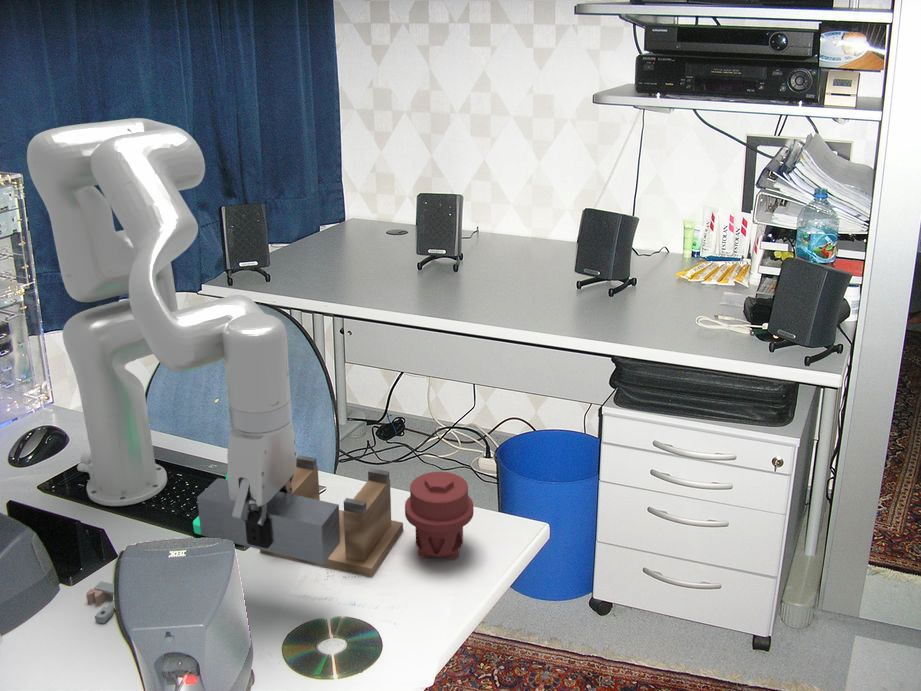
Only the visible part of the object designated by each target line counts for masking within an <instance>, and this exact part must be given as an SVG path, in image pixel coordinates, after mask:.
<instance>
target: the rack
mask: <svg viewBox="0 0 921 691" xmlns="http://www.w3.org/2000/svg"><path fill="white" fill-rule="evenodd" d="M296 457H297V462H296V470H295V472H294V475H293V478H292V481H291V486H292V493H291V494H293V495H298V496H302V497H307V498H311V499H316V500H320V501H321V498H320V497H321V496H320V482H319V467H318V464H317V457H311V456H306V455H301V454H297V455H296ZM391 494H392V493H391V479H390V471H388V470H382V469H376V468H369V469H368V471H367V481H366V482H365V484H364V485H363V486H362V487H361V489H360V490H359V491H358V492H357V493H356V495H355V496H354V497H353V498H349V497H346V498H345V499H344V500H343V510H341V509H339V523H340V543H339V545H338V546H337V547H336V549H335V550H334V551H333V553H332V554H331V555H330V557H329V558H328V559H327V561H326V562H325V563H324V565H322V564H318V563H314V562H310V561H306V560H301V559H297V558H293V557H289V556H285V555H281V554H277V553H273V552H268V551H264V550H260V549H259V553H260V554H264V555H270V556H275V557H278V558H283V559H288V560H291V561H295V562H296V561H297V562H301V563H305V564H310V565H314V566H319V567H324V568H329V569H333V570H338V571H342V572H347V573H350V574H355V575H361V576H363V577H364V576H365V577H369V578H373V576H374V575H375V574H376V573H377V571H378V569H379V567H380V566H381V564H382V563H383V562H384V560H385V559H386V557H387V556H388V554H389V553H390V551H391V550H392V548H393V547H394V545H395V543H396V542H397V541H398V539H399V538H400V536H401V535H402V533H403V532H404V522H402V521H398V520H397V521H396V520H392V500H391V499H392V498H391Z"/></svg>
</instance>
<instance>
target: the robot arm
mask: <svg viewBox="0 0 921 691" xmlns="http://www.w3.org/2000/svg"><path fill="white" fill-rule="evenodd" d="M26 162H27V167H28V172H29V175H30V178H31V181H32V183H33V185H34V187H35V189H36V191H37V192H38V194H39V196H40V198H41V200H42V201H43V203H44V206H45V209H46V210H47V213H48V215H49V220H50V223H51V229H52V234H53V235H52V236H53V240H54V246H55V250H56V255H57V259H58V265H59V266H58V267H59V270H60V274H61V278H62V282H63V285H64V288H65V290H66V292H67V294H68V295H69V297H70V298H72V299H73V300H76V302H80V303H81V302H82V303H91V302H97V301H101V300H106V299H109V298H115V297H118V296H121V295H125V294H126V295H127V294H128V298H126V299H123V300H118V301H113V302H110V303H106V304H102V305H98V306H95V307H92V308H88V309H86V310H83V311H80V312H78V313H76V314H75V315H74V314H73V315H72V317H70V318H69V319H68V320H67V321H66V323H65V324H64V326H63V329H62V339H63V340H62V341H63V346H64V347H65V350H66V354H67V356H68V359H69V361H70V363H71V366H72V369H73V372H74V375H75V379H76V383H77V386H78V392H79V398H80V402H81V406H82V407H81V408H82V412H83V417H84V424H85V428H86V434H87V435H86V436H87V439H88V440H87V441H88V445H89V451H90V453H88V452H83V453H82V454H81V456H80V458H79V459H80V460H79V461H80V462H79V463H78V465H77V466H76V467H77V468H76V469H77V471H79V472H82V473H83V472H84V473H88V474H89V478H90V479H89V480H88V481H87V484H86V492H87V493H86V494H87V497H89V499H90V500H91V501H92V502H94V503H97V504H99V505H101V506H106V507H107V506H109V507H124V506H130V505H131V506H132V505H135V504H138V503H142V502H144V501H146V500H149V499H151V498H153V497H155V496H157V495H158V494H159V493H160V492H161V491H162V490H163V489H164V488H165V487H166V485H167V482H168V476H167V475H168V474H167V471H166V470H165V468H164V467H163V466H161V464H157V463H156V460H155V452H154V445H153V439H152V431H151V425H150V419H149V413H148V412H149V411H148V406H147V398H146V393H145V388H144V385H143V383H142V382H141V380H140V379H139V377H138V376H136V375H135V374H134V373H133V372H131V371H129V370H128V369H126V365H127V364H129V363H131V362H132V363H133V362H134V361H136V360H140V359H142V358H146V357H148V356H152V355H153V356H154V357H155V358H156V360H157V361H158V362H159V363H160V364H161V365H162V366H163V367H164V368H166V369H167V370H169V371H170V372H173V373H178V374H179V373H181V374H182V373H188V372H191V371H194V370H198V369H201V368H203V367H207V366H209V365H212V364H215V363H218V362H221V361H224V366H225V367H224V368H225V377H226V378H225V379H226V388H227V390H226V391H227V399H228V400H227V401H228V410H229V419H230V428H231V430H230V432H229V436H228V442H227V444H228V445H227V472H228V490H229V497H230V500H231V501H236V502H235V506H234V510H233V514H232V516H233V518H238V519H242V520H243V521H245V525H246V536H247V543H248V544H250V545H254V546H258V547H262V548H266V549H267V548H269V547H270V546H271V540H270V527H269V521H266V511H267V502H269V501H270V500H271V499H272V498H273V497H274V495H275V494H276V493H277V492H278V491H279V492H284V493H288V494H291V493H292V486H291V481H292V478H293V475H294V472H295V470H296V462H297V449H296V448H297V445H296V439H295V438H296V436H295V430H294V425H293V417H292V416H293V414H292V401H291V399H292V398H291V387H290V384H291V383H290V382H291V381H290V369H289V352H288V351H289V349H288V335H287V328H286V326H285V324H284V322H283V321H282V320H281V319H279V318H278V317H277V316H274V315H271V314H267V313H265V312H264V311H263V309H262V308H260V307H259V305H258V303H256V302H255V301H254V300H253V299H252V298H250V297H248V296H247V295H243V294H232V295H228V296H225V297H221V298H218V299H214V300H211V301H206V302H202V303H199V304H196V305H195V304H194V305H192V306H188V307H184V308H182V309H179V308H178V301H177V294H176V288H175V280H174V274H173V273H174V272H173V268H172V262H173V261H174V260H175V259H176V258H178V257H179V256H180V255H181V254H183V253H184V252H185V251H186V250H187V249H188V248H189V247H190V246H191V245H192V244H193V242H194V241H195V240H196V239H197V236H198V233H199V226H198V222H197V219H196V218H195V216H194V215H193V213H192V211H191V210H190V208H189V206H188V204H187V203H186V202H185V200H184V198H183V196H182V194H181V193H180V192H179V191H184V190H188V189H189V190H190V189H193V188H195V187H197V186H199V185H200V184H201V182H202V181H203V179H204V177H205V172H206V163H205V158H204V155H203V152H202V150H201V147H200V146H199V145H198V143H197V141H196V140H195V139H194V137H192V136H191V135H190V134H189V133H188V132H187V131H186V130H184V129H182V128H180V127H178V126H176V125H173V124H167V123H163V122H160V121H155V120H153V119H149V118H141V117H140V118H139V117H133V118H132V117H131V118H125V119H115V120H108V121H99V122H88V123H79V124H73V125H71V124H70V125H65V126H60V127H55V128H50V129H47V130H44V131H42V132H39V133H37V134H36V135H34V136H33V138H31V140H30V141H29V143H28V146H27V151H26ZM96 186H98V187H99V189H100V190H99V189H97V187H96ZM113 213H114V215H115V216H116V218H117V220H118V222H119V224H120V225H121V228H122V229H123V230H122V229H121V230H119V231H116V228H115V223H114V217H113ZM251 495H252V497H251ZM251 504H252V505H256V506H258V507H259V509H258V514H257V513H255V512H252V511H251Z"/></svg>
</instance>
